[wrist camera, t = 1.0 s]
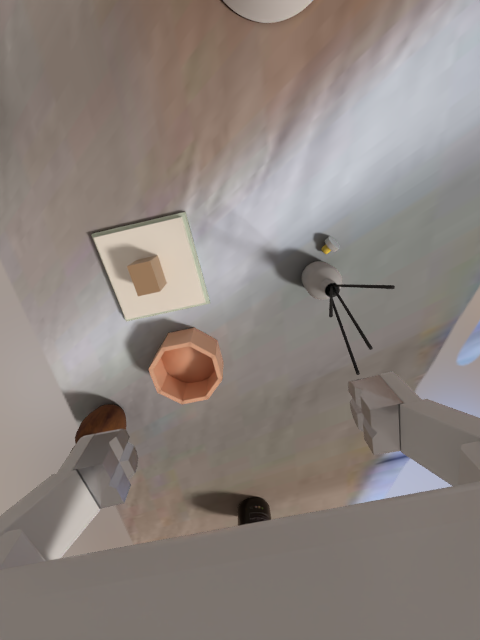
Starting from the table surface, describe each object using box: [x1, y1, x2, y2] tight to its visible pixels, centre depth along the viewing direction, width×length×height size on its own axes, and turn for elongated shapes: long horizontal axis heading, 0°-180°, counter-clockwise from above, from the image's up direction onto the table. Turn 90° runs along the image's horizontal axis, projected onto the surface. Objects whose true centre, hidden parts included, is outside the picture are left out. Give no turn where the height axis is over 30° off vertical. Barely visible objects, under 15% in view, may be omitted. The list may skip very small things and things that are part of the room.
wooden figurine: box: [70, 404, 126, 453], centre depth 44 cm, size 7×6×15 cm
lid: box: [94, 217, 205, 320], centre depth 39 cm, size 12×12×5 cm
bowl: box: [148, 328, 223, 404], centre depth 45 cm, size 10×10×5 cm
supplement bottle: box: [238, 498, 271, 526], centre depth 56 cm, size 7×7×12 cm
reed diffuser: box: [302, 236, 395, 375], centre depth 33 cm, size 10×7×20 cm
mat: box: [91, 212, 210, 321], centre depth 41 cm, size 13×13×1 cm
